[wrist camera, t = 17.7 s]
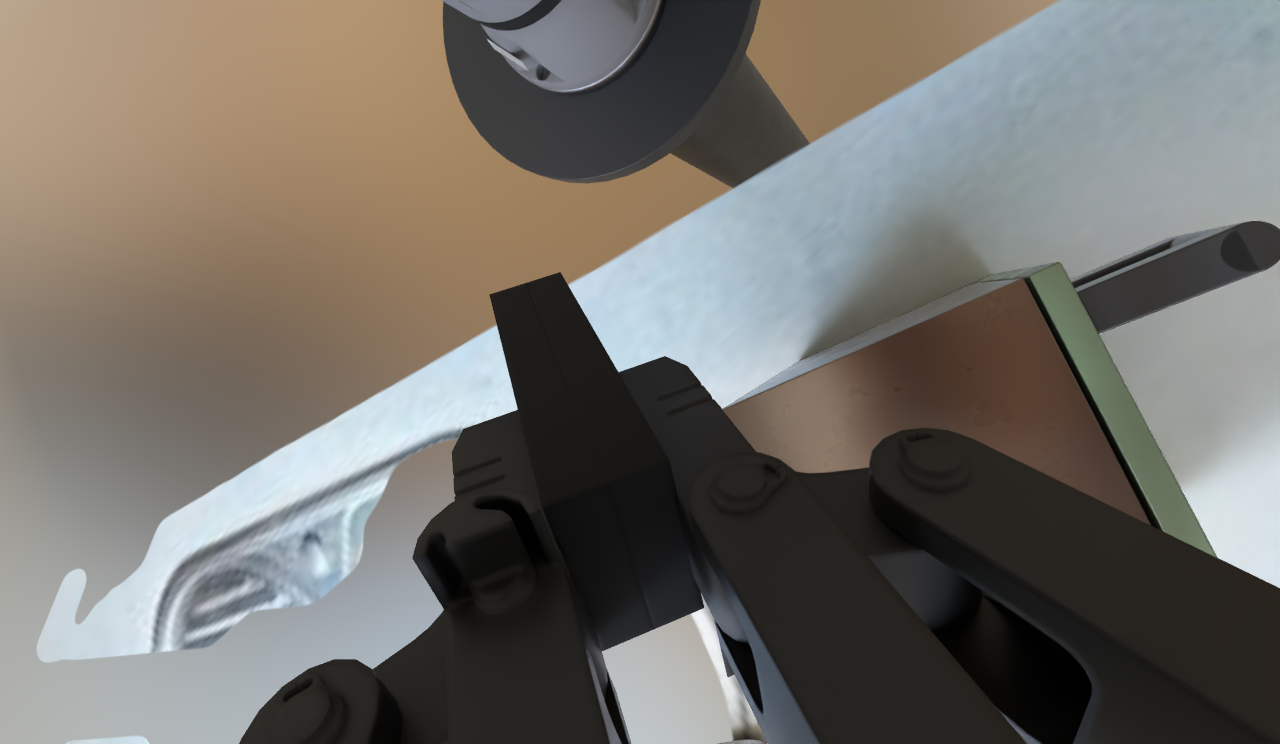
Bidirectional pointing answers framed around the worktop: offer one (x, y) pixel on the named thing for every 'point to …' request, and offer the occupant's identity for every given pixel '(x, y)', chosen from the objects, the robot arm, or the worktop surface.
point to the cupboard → (941, 394)
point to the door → (1126, 297)
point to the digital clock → (744, 742)
